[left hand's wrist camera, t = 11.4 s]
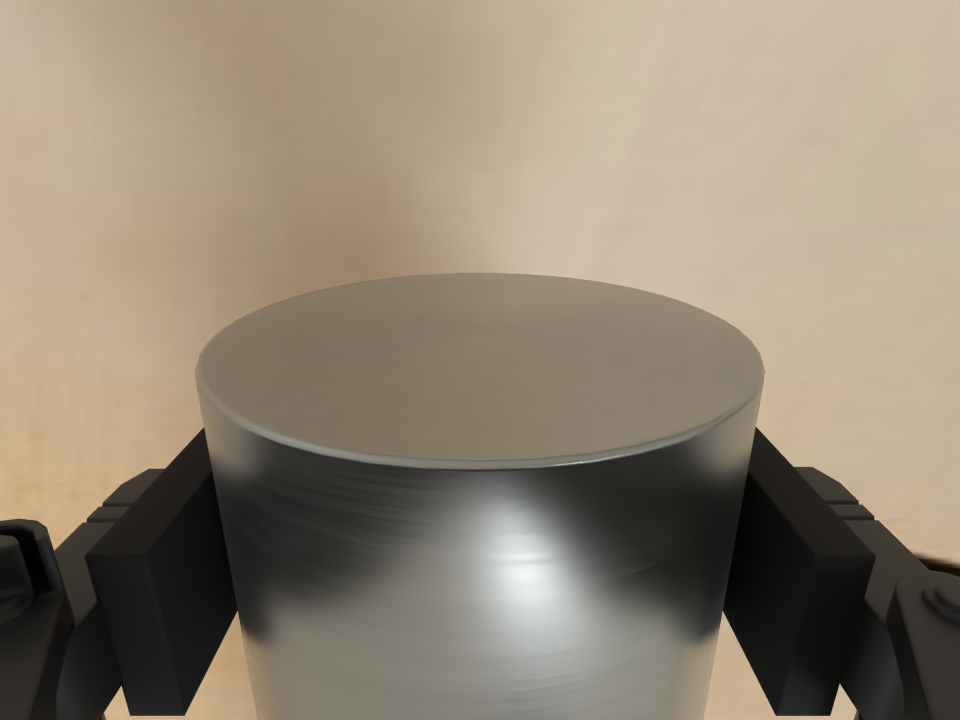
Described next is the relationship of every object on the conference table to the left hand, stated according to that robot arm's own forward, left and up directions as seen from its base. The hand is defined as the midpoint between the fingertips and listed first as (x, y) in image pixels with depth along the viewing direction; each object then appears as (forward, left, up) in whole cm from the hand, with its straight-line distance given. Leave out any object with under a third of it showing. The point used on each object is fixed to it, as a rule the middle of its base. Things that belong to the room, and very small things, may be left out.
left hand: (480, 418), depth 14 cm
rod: (+6, +7, -1) cm, 9 cm away
